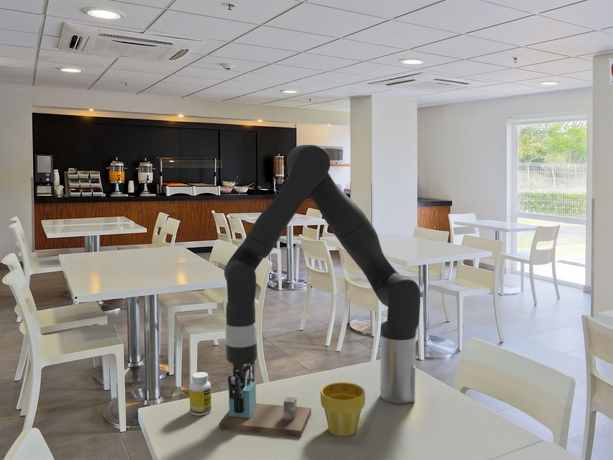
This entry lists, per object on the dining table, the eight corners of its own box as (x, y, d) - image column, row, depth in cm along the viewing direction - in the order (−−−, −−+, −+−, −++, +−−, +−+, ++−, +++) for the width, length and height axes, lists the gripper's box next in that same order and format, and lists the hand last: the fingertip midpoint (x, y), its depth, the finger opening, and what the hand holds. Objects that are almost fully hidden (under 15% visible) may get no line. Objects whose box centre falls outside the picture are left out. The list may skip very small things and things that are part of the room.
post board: (311, 413, 136) (311, 390, 136) (301, 436, 125) (300, 411, 124) (235, 407, 140) (235, 385, 140) (219, 429, 129) (218, 404, 128)
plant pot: (341, 445, 120) (341, 404, 119) (312, 428, 128) (311, 389, 127) (373, 431, 127) (374, 391, 126) (343, 415, 135) (343, 378, 134)
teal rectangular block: (256, 408, 135) (255, 382, 135) (249, 418, 130) (249, 390, 130) (236, 407, 136) (235, 381, 136) (229, 416, 131) (228, 389, 131)
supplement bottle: (206, 417, 135) (205, 379, 134) (186, 415, 136) (185, 378, 135) (214, 407, 140) (213, 371, 139) (195, 406, 141) (193, 370, 140)
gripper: (247, 351, 124) (248, 421, 126) (264, 332, 138) (265, 396, 140) (216, 349, 125) (218, 419, 127) (236, 331, 139) (238, 394, 141)
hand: (243, 406), depth 133 cm, fingers open, 5 cm apart
